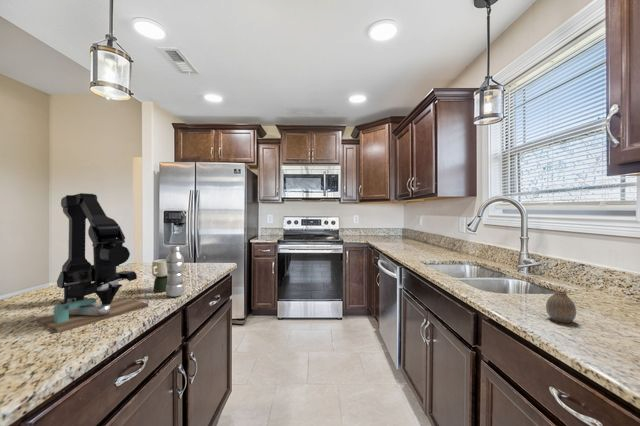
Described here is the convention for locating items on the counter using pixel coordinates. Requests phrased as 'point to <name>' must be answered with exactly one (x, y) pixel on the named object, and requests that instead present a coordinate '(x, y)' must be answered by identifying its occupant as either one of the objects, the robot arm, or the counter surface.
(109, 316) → the board
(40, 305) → the counter surface
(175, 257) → the plastic bottle
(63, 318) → the keeper
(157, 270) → the character mug
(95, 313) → the link
